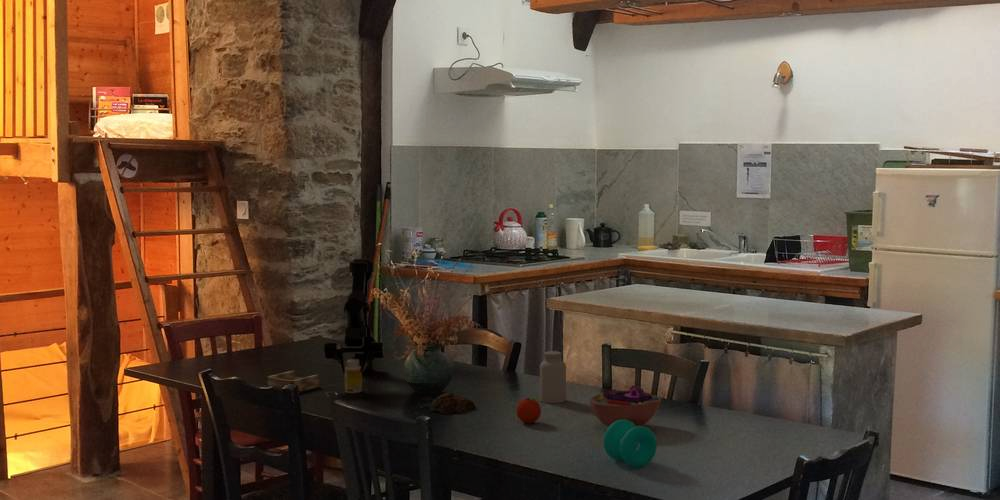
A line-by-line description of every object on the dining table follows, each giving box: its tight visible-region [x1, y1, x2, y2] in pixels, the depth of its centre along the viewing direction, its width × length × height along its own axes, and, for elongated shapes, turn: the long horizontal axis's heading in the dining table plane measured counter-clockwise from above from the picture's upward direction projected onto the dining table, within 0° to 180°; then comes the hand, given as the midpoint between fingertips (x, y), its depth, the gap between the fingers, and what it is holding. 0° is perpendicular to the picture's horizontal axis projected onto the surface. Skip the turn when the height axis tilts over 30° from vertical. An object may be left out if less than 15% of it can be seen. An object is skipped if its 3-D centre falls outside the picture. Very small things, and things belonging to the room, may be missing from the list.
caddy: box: [265, 370, 320, 393], centre depth 333 cm, size 12×12×4 cm
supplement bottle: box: [343, 358, 363, 394], centre depth 327 cm, size 6×6×10 cm
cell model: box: [589, 385, 662, 427], centre depth 282 cm, size 17×20×11 cm
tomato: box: [515, 397, 544, 424], centre depth 288 cm, size 8×7×7 cm
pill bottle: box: [539, 350, 567, 405], centre depth 313 cm, size 8×8×15 cm
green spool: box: [603, 420, 658, 469], centre depth 249 cm, size 10×10×10 cm
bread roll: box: [429, 392, 476, 415], centre depth 304 cm, size 13×12×5 cm
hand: (352, 372), depth 325 cm, fingers closed on supplement bottle, 6 cm apart
